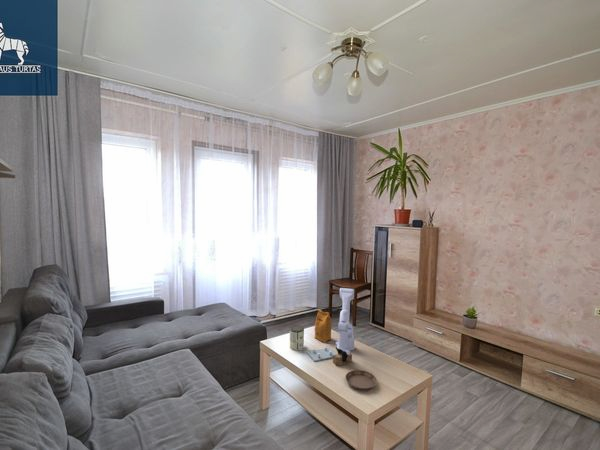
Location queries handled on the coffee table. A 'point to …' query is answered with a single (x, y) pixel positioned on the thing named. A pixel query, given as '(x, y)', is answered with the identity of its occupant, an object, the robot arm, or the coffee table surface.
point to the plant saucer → (361, 380)
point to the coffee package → (323, 326)
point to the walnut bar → (338, 359)
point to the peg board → (321, 354)
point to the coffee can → (296, 337)
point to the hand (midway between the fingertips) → (342, 360)
